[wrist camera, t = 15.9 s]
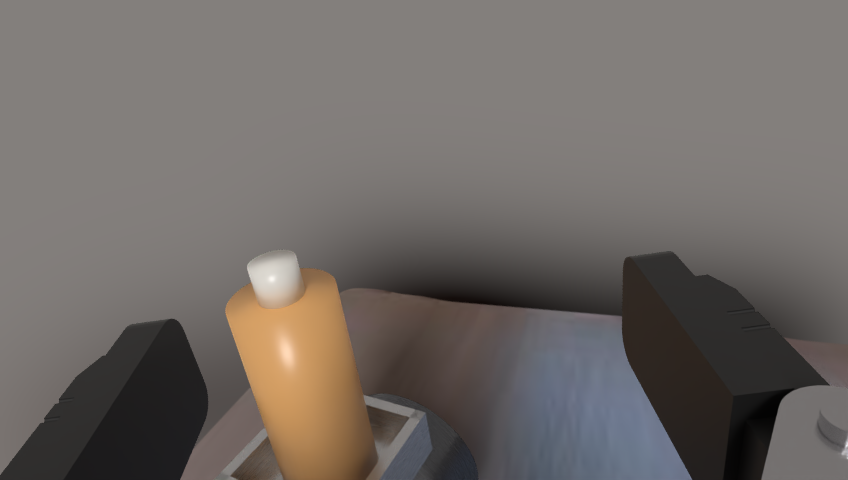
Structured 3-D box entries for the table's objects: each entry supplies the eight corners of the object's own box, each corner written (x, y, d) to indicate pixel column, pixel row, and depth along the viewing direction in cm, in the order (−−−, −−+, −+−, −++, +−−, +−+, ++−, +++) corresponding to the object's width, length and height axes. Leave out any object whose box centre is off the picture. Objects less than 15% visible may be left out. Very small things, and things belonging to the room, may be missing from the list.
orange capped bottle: (321, 422, 38) (266, 231, 32) (394, 444, 35) (349, 240, 29) (264, 489, 34) (188, 283, 28) (343, 519, 31) (278, 299, 25)
